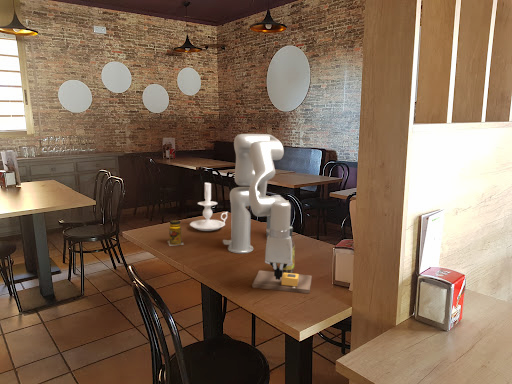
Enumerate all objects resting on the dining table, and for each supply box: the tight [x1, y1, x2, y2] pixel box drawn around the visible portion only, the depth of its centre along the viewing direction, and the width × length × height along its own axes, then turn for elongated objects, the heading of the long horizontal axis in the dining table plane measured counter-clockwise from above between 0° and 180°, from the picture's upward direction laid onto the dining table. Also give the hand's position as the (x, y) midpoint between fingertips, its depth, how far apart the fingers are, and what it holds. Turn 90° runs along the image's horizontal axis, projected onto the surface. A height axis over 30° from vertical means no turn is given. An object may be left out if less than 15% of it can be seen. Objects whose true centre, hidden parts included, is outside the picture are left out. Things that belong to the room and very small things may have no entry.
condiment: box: [166, 219, 184, 247], centre depth 201 cm, size 7×8×12 cm
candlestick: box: [189, 182, 229, 232], centre depth 228 cm, size 21×25×28 cm
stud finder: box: [282, 272, 299, 286], centre depth 151 cm, size 6×5×3 cm
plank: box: [251, 270, 313, 294], centre depth 156 cm, size 22×14×2 cm, turn 79°
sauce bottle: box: [279, 225, 296, 274], centre depth 166 cm, size 6×6×20 cm
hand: (278, 278), depth 152 cm, fingers closed
